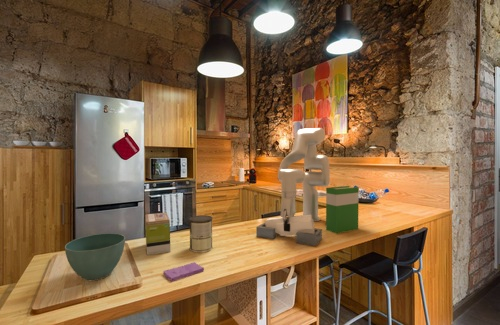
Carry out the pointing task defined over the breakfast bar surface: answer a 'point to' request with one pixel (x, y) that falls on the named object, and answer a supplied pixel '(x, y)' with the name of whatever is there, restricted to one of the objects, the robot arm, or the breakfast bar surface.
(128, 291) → the breakfast bar surface
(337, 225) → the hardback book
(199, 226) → the coffee can
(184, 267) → the sponges
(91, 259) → the green round bowl
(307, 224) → the cream elongated piece
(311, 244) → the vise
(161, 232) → the tea box
